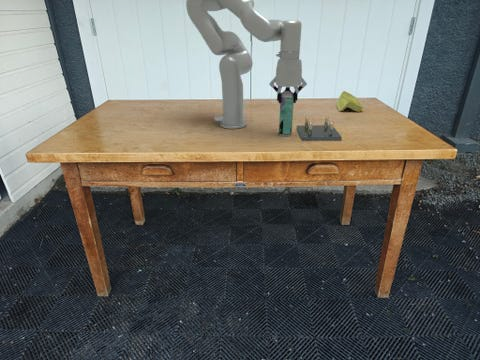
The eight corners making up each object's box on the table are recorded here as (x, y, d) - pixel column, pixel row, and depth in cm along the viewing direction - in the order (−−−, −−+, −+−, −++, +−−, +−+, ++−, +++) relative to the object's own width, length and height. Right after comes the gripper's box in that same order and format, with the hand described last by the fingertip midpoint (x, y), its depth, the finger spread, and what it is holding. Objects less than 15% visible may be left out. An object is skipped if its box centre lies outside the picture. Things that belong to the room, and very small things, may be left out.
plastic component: (363, 108, 167) (347, 100, 165) (355, 120, 170) (339, 112, 169) (356, 97, 183) (341, 89, 182) (349, 108, 187) (334, 100, 186)
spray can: (290, 132, 141) (293, 85, 131) (292, 136, 136) (295, 88, 127) (277, 132, 140) (280, 86, 131) (279, 136, 136) (282, 88, 126)
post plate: (302, 140, 131) (303, 125, 128) (296, 128, 145) (297, 114, 142) (341, 140, 130) (343, 125, 128) (331, 128, 145) (333, 114, 142)
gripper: (268, 57, 120) (266, 104, 129) (313, 56, 120) (309, 104, 128) (266, 55, 127) (265, 100, 135) (310, 54, 127) (306, 100, 135)
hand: (286, 102), depth 132 cm, fingers closed on spray can, 5 cm apart
